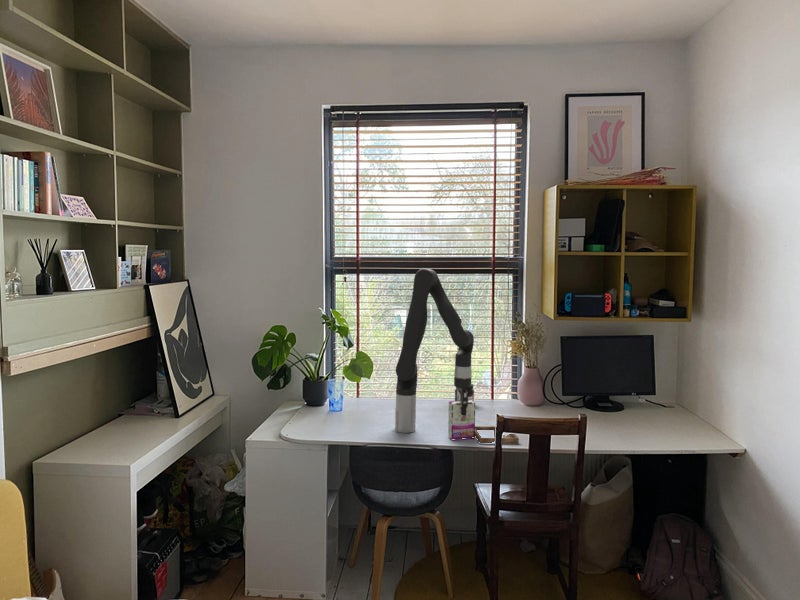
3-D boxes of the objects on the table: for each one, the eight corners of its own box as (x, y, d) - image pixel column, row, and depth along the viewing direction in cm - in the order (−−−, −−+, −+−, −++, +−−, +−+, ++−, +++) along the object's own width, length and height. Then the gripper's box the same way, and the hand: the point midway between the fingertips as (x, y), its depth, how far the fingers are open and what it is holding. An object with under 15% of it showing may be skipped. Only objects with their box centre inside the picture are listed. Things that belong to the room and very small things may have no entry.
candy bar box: (470, 435, 247) (471, 399, 246) (475, 438, 242) (476, 402, 241) (447, 436, 244) (448, 400, 243) (451, 440, 239) (452, 403, 238)
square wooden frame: (479, 444, 235) (479, 438, 235) (471, 431, 252) (471, 426, 252) (518, 444, 237) (518, 438, 236) (508, 431, 253) (508, 426, 253)
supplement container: (472, 409, 290) (473, 387, 289) (453, 408, 292) (453, 386, 291) (474, 404, 300) (475, 383, 299) (455, 403, 302) (456, 381, 301)
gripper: (451, 372, 248) (450, 408, 249) (457, 379, 234) (456, 417, 235) (468, 372, 249) (467, 408, 250) (474, 379, 234) (473, 417, 236)
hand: (461, 412), depth 242 cm, fingers open, 7 cm apart
